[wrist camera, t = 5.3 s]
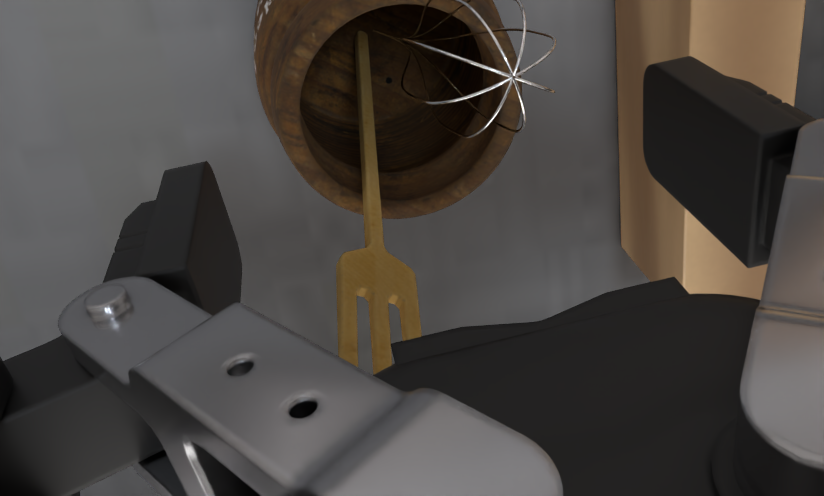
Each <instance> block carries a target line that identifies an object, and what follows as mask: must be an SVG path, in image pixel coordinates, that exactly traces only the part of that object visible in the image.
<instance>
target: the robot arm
mask: <svg viewBox="0 0 824 496" xmlns="http://www.w3.org/2000/svg"><path fill="white" fill-rule="evenodd" d="M643 153H644V158H645V162H646V165H647V168H648V170H649V172H650V174H651V175H652V177H653V178H654V179H655V180H656V181H657V182H658V183H659V184H660V185H662V186H663V187H664V188H665V189H666V190H667V191H668V192H669V193H670V194H671V195H672V196H673V197H674V198H675V199H676V200H677V201H678V202H679V203H680V204H681V205H682V206H683V207H684V208H686V209H687V210H688V211H689V212H690V213H691V214H692V215H693V216H694V217H695V218H696V219H697V220H698V221H699V222H700V223H701V224H702V225H703V226H704V227H705V228H706V229H707V230H709V231H710V232H711V233H712V234H713V235H714V236H715V237H716V238H717V239H718V240H719V241H720V242H721V243H722V244H723V245H724V246H725V247H726V248H727V249H728V250H729V251H730V252H731V253H733V254H734V255H735V256H736V257H737V258H738V259H739V260H740V261H741V262H742V263H743V264H744V265H745V266H746V267H747V268H753V267H757V266H761V265H765V264H768V266H767V271H766V276H765V280H764V285H763V290H762V295H761V300H758V299H753V298H749V297H742V296H736V295H726V294H706V293H697V294H689V293H688V292H687V291H686V289H685V288H684V287H683V286H682V285H681V284H680V282H679V281H678V280H677V279H676V278H675V277H670V278H666V279H662V280H657V281H653V282H649V283H645V284H641V285H636V286H632V287H628V288H624V289H620V290H615V291H611V292H607V293H604V294H602V295H600V296H597V297H595V298H593V299H591V300H588V301H586V302H584V303H581V304H579V305H577V306H575V307H572V308H570V309H568V310H566V311H563V312H561V313H559V314H557V315H554V316H552V317H550V318H547V319H545V320H542V321H538V322H528V323H513V324H499V325H484V326H469V327H460V328H455V329H451V330H447V331H443V332H439V333H434V334H430V335H426V336H422V337H418V338H413V339H409V340H405V341H401V342H396V343H392V344H391V347H392V352H393V356H394V360H395V364H393V365H391V366H389V367H387V368H385V369H383V370H381V371H379V372H378V373H376V374H374V375H371V374H370V373H368V372H366V371H364V370H362V369H360V368H359V367H357V366H355V365H353V364H351V363H350V362H348V361H346V360H344V359H342V358H340V357H339V356H337V355H335V354H333V353H331V352H329V351H328V350H326V349H324V348H322V347H320V346H319V345H317V344H315V343H313V342H311V341H309V340H308V339H306V338H304V337H302V336H300V335H299V334H297V333H295V332H293V331H291V330H289V329H288V328H286V327H284V326H282V325H280V324H278V323H277V322H275V321H273V320H271V319H269V318H268V317H266V316H264V315H262V314H260V313H258V312H257V311H255V310H253V309H251V308H249V307H248V306H246V305H244V304H241V303H240V297H241V279H242V263H241V257H240V252H239V247H238V243H237V240H236V237H235V234H234V231H233V228H232V225H231V222H230V219H229V216H228V213H227V210H226V207H225V205H224V202H223V199H222V196H221V193H220V190H219V187H218V184H217V181H216V178H215V175H214V173H213V170H212V168H211V166H210V165H209V163H208V162H207V161H206V162H201V163H196V164H192V165H187V166H183V167H178V168H174V169H169V170H165V172H164V174H163V178H162V181H161V185H160V188H159V192H158V195H157V199H156V200H154V201H149V202H145V203H141V204H140V205H139V206H138V207H137V208H136V209H135V210H134V211H133V212H132V213H131V214H130V215H129V216H128V217H127V218H126V219H125V221H124V224H123V227H122V229H121V232H120V235H119V237H120V239H118V241H117V244H116V247H115V253H113V255H112V258H111V261H110V264H109V267H108V269H107V272H106V275H105V278H104V281H103V283H102V284H100V285H98V286H95V287H93V288H91V289H89V290H87V291H86V292H84V293H82V294H81V295H79V296H78V297H77V298H75V299H74V300H73V301H72V302H71V303H69V304H68V305H67V306H66V308H65V309H64V310H63V311H62V313H61V315H60V317H59V320H58V327H59V330H60V332H61V334H62V335H61V336H60V337H58V338H56V339H54V340H52V341H50V342H48V343H46V344H43V345H41V346H39V347H36V348H34V349H31V350H29V351H27V352H24V353H22V354H19V355H17V356H15V357H12V358H10V359H7V360H5V361H2V359H1V357H0V496H80V491H81V490H83V489H85V488H87V487H89V486H91V485H93V484H95V483H97V482H99V481H101V480H103V479H105V478H107V477H109V476H111V475H113V474H115V473H117V472H119V471H121V470H124V469H126V468H128V467H130V466H132V467H133V469H134V470H135V471H136V473H137V474H138V475H139V476H140V477H141V478H142V479H144V480H145V481H146V482H147V483H148V484H149V485H150V486H151V487H152V488H153V489H154V490H155V491H156V492H157V493H158V494H159V495H160V496H824V118H822V119H818V120H816V119H814V118H813V117H811V116H809V115H807V114H806V113H804V112H802V111H800V110H799V109H797V108H795V107H793V106H791V105H790V104H788V103H786V102H785V103H782V100H781V99H779V98H777V97H776V96H774V95H772V94H767V91H765V90H763V89H761V88H760V87H758V86H756V85H754V84H753V83H751V82H749V81H745V80H741V79H737V78H733V77H729V76H725V75H723V74H721V73H720V72H718V71H716V70H715V69H713V68H711V67H709V66H708V65H706V64H704V63H703V62H701V61H699V60H697V59H696V58H694V57H692V56H686V57H682V58H677V59H673V60H668V61H663V62H659V63H654V64H650V65H649V66H647V68H646V70H645V73H644V77H643Z"/></svg>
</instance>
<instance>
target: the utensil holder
mask: <svg viewBox="0 0 824 496" xmlns="http://www.w3.org/2000/svg"><path fill="white" fill-rule="evenodd" d="M515 1H516V2H517V3H518V4H519V6H520V8H521V12H522V17H523V28H504V26H503V24H502V22H501V19H500V16H499V13H498V11H497V9H496V6H495V4H494V2H493V0H258V5H257V10H256V16H255V25H254V66H255V75H256V82H257V87H258V92H259V96H260V99H261V102H262V105H263V108H264V110H265V113H266V115H267V118H268V120H269V122H270V124H271V126H272V127H273V129H274V131H275V132H276V134H277V135H278V137H279V139H280V141H281V143H282V145H283V147H284V149H285V151H286V153H287V155H288V156H289V158H290V160H291V161H292V163H293V164H294V166H295V167H296V169H297V170H298V172H299V173H300V174H301V176H302V177H303V178H304V179H305V180H306V181H307V183H308V184H310V185H311V186H312V187H313V188H314V189H315V190H316V191H317V192H318V193H320V194H321V195H322V196H324V197H325V198H326V199H328V200H329V201H331V202H333V203H334V204H336V205H338V206H340V207H342V208H344V209H347V210H349V211H352V212H355V213H358V214H361V215H364V230H365V248H363V249H358V250H353V251H349V252H344V253H343V254H342V256H341V257H340V259H339V261H338V263H337V265H336V284H337V322H338V356H339V357H340V358H342V359H344V360H346V361H348V362H350V363H351V364H353V365H355V366H357V367H358V339H357V296H361V297H364V298H365V299H366V300H367V301H368V303H369V316H370V330H371V345H372V359H373V373H374V374H376V373H378V372H379V371H381V370H383V369H385V368H387V367H389V366H391V365H392V356H391V340H390V324H389V307H388V303H392V304H395V305H396V306H397V307H398V308H399V311H400V320H401V329H402V338H403V341H405V340H409V339H413V338H418V337H422V335H421V325H420V315H419V305H418V295H417V285H416V277H415V274H414V272H413V271H412V269H411V268H410V267H408V266H407V265H405V264H404V263H402V262H401V261H400V260H398V259H397V258H395V257H394V256H392V255H391V254H389V253H388V252H387V250H386V249H385V247H384V238H383V226H382V218H386V219H401V218H411V217H417V216H422V215H426V214H429V213H433V212H436V211H438V210H441V209H443V208H446V207H448V206H450V205H452V204H454V203H456V202H457V201H459V200H461V199H462V198H464V197H466V196H467V195H468V194H470V193H471V192H472V191H474V190H475V189H476V188H477V187H478V186H480V185H481V184H482V183H483V182H484V181H485V180H486V179H487V178H488V177H489V176H490V174H491V173H492V172H493V171H494V170H495V168H496V167H497V166H498V165H499V163H500V162H501V160H502V159H503V157H504V155H505V154H506V152H507V150H508V148H509V146H510V144H511V142H512V140H513V137H514V134H515V133H519V132H521V131H522V130H523V129H524V127H525V123H526V114H525V108H524V103H523V99H522V83H525V84H528V85H531V86H534V87H536V88H539V89H542V90H545V91H548V92H551V93H555V91H554V90H552V89H549V88H547V87H544V86H541V85H538V84H536V83H533V82H530V81H527V80H524V79H522V78H521V74H523V73H525V72H526V71H528V70H529V69H531V68H533V67H534V66H536V65H537V64H538V63H540V62H541V61H542V60H544V59H545V58H546V57H547V56H548V55H549V54H550V53H551V52H552V51H553V49H554V47H555V45H556V39H555V37H554V36H553V35H550V34H547V33H543V32H539V31H535V30H530V29H526V16H525V11H524V7H523V5H522V3H521V1H520V0H515ZM506 31H523V35H522V42H521V47H520V51H519V55H518V59H517V57H516V54H515V51H514V48H513V46H512V43H511V40H510V38H509V36H508V34H507V32H506ZM526 32H531V33H536V34H540V35H544V36H547V37H550V38H552V39H553V45H552V47H551V48H550V50H549V51H548V52H547V53H546V54H545V55H544V56H543V57H541V58H540V59H539V60H537V61H536V62H535V63H533V64H532V65H530V66H528V67H527V68H525V69H524V70H522V71H520V68H519V63H520V60H521V56H522V52H523V48H524V43H525V36H526ZM521 108H522V114H523V124H522V127H521V128H520V129H519V130H516V129H517V125H518V122H519V117H520V112H521Z"/></svg>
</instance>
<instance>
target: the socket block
mask: <svg viewBox="0 0 824 496" xmlns="http://www.w3.org/2000/svg"><path fill="white" fill-rule="evenodd" d="M805 4H806V0H615V9H616V50H617V91H618V133H619V174H620V215H621V247H622V248H623V249H624V250H625V252H626V253H627V254H628V255H629V256H630V258H631V259H632V260H633V261H634V262H635V264H636V265H637V266H638V267H639V268H640V269H641V271H642V272H643V273H644V274H645V275H646V277H647V278H648V279H649V280H650V281H651V282H653V281H657V280H662V279H666V278H670V277H675V278H676V279H677V280H678V281H679V282H680V284H681V285H682V286H683V287H684V288H685V289H686V291H687V292H688V293H689V294H697V293H706V294H726V295H736V296H742V297H749V298H753V299H758V300H760V299H761V295H762V290H763V285H764V280H765V276H766V271H767V266H768V264H765V265H761V266H757V267H753V268H747V267H746V266H745V265H744V264H743V263H742V262H741V261H740V260H739V259H738V258H737V257H736V256H735V255H734V254H733V253H731V252H730V251H729V250H728V249H727V248H726V247H725V246H724V245H723V244H722V243H721V242H720V241H719V240H718V239H717V238H716V237H715V236H714V235H713V234H712V233H711V232H710V231H709V230H707V229H706V228H705V227H704V226H703V225H702V224H701V223H700V222H699V221H698V220H697V219H696V218H695V217H694V216H693V215H692V214H691V213H690V212H689V211H688V210H687V209H686V208H684V207H683V206H682V205H681V204H680V203H679V202H678V201H677V200H676V199H675V198H674V197H673V196H672V195H671V194H670V193H669V192H668V191H667V190H666V189H665V188H664V187H663V186H662V185H660V184H659V183H658V182H657V181H656V180H655V179H654V178H653V177H652V175H651V174H650V172H649V170H648V168H647V165H646V162H645V158H644V153H643V77H644V73H645V70H646V68H647V66H649V65H650V64H654V63H659V62H663V61H668V60H673V59H677V58H682V57H686V56H692V57H694V58H696V59H697V60H699V61H701V62H703V63H704V64H706V65H708V66H709V67H711V68H713V69H715V70H716V71H718V72H720V73H721V74H723V75H725V76H729V77H733V78H737V79H741V80H745V81H749V82H751V83H753V84H754V85H756V86H758V87H760V88H761V89H763V90H765V91H767V94H772V95H774V96H776V97H777V98H779V99H781V100H782V103H785V102H786V103H788V104H790V105H791V106H793V107H794V103H795V94H796V85H797V76H798V67H799V58H800V49H801V40H802V31H803V22H804V13H805Z"/></svg>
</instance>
